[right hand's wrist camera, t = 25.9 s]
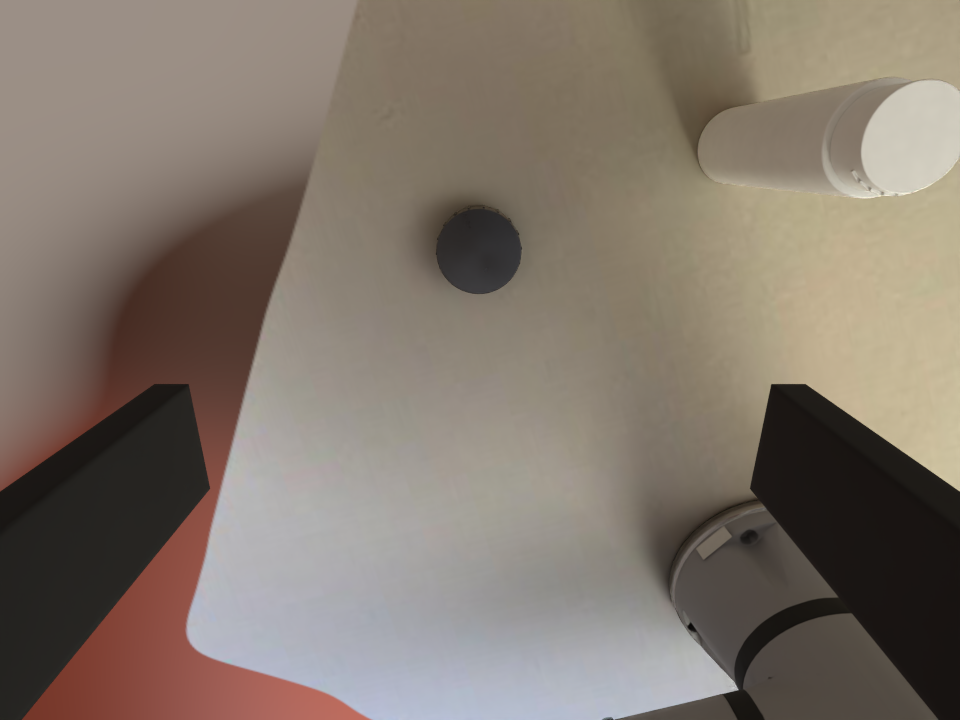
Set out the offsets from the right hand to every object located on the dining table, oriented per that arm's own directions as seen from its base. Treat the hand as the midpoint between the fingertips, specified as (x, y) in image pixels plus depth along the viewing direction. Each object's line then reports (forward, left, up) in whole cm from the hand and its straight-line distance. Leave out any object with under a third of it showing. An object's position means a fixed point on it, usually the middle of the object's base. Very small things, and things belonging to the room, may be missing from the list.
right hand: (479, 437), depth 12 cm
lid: (0, 0, -24) cm, 24 cm away
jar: (-13, -11, -26) cm, 31 cm away
